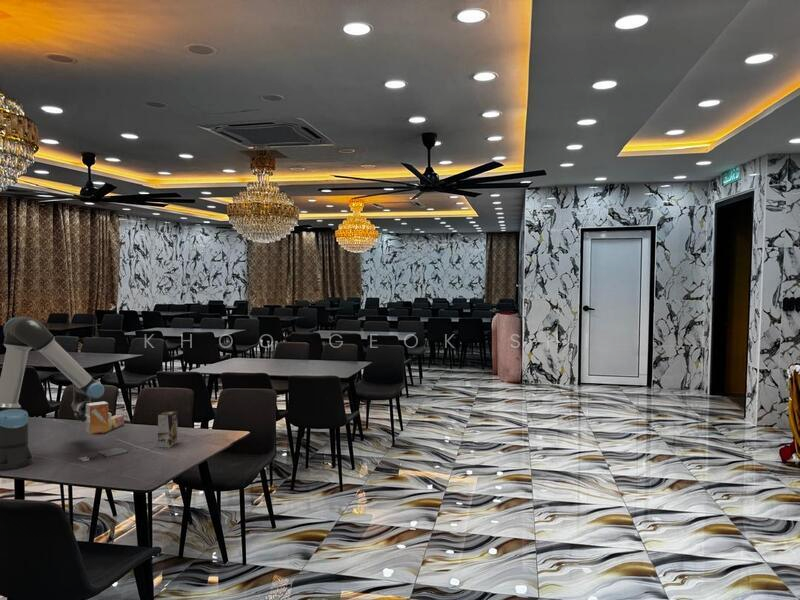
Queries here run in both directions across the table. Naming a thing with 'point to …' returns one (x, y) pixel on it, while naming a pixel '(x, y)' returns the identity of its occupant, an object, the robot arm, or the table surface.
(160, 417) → the coffee box
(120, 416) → the snack package
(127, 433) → the table surface
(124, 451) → the gray slab
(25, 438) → the robot arm
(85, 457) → the tiles
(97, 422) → the small box
